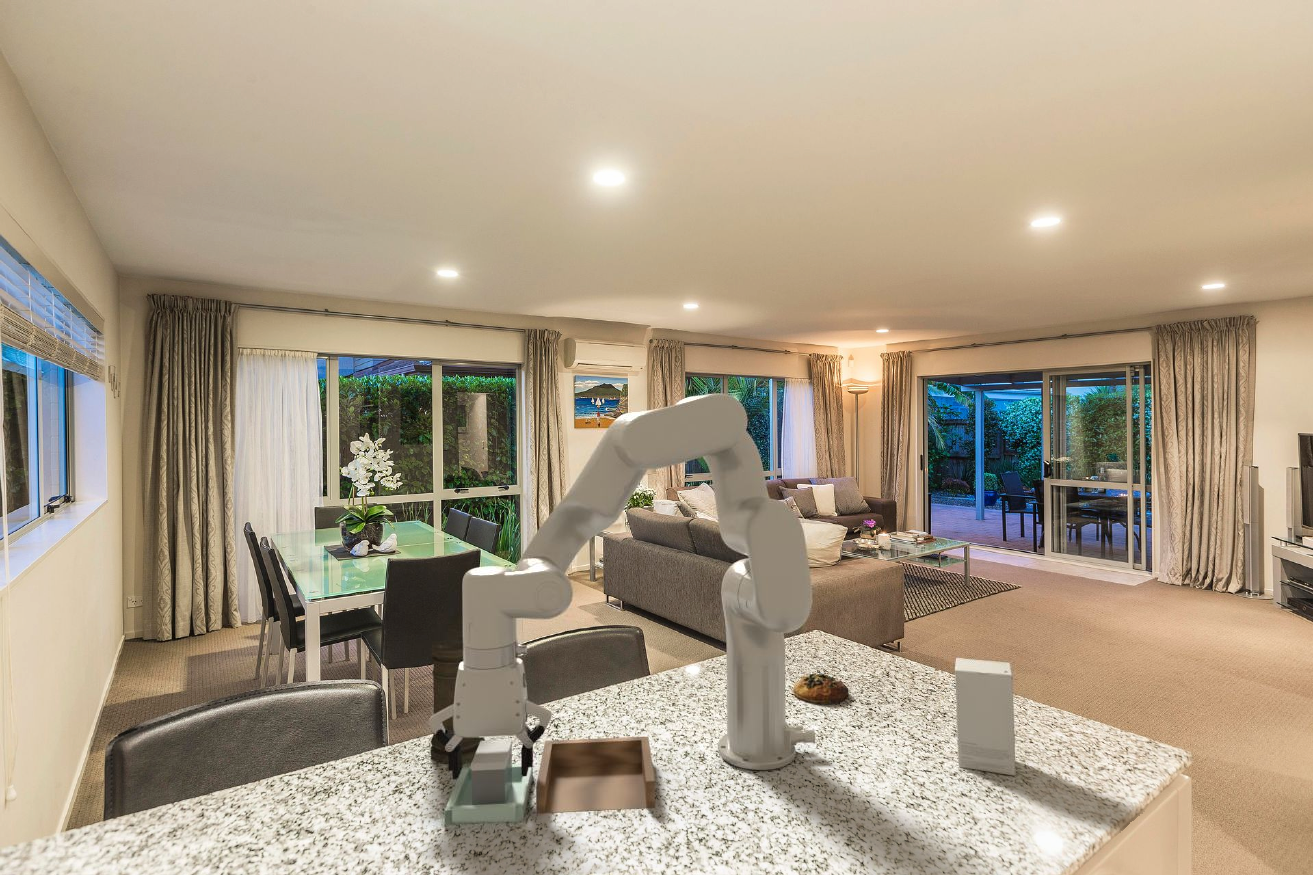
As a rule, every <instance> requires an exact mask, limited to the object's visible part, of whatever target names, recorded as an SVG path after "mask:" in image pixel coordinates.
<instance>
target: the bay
mask: <svg viewBox="0 0 1313 875" xmlns="http://www.w3.org/2000/svg"><path fill="white" fill-rule="evenodd" d="M649 738H650V737H649V736H632V737H631V736H629V737H626V736H625V737H607V738H606V737H604V738H603V737H602V738H580V739H579V738H577V739H558V740H556V739H555V740H545V741H544V743H543V748H542V749H543V750H542V754H541V759H540V764H539V770H538V775H537V780H536V784H535V803H536V804H535V808H536V809H535V810H536V811H535V813H536V814H539V815H540V814H552V813H553V814H557V813H574V812H596V811H615V810H637V809H638V810H639V809H640V810H641V809H655V808H656V798H655V797H656V791H655V790H656V789H655V788H656V780H655V773H654V768H653V761H652V760H653V759H652V753H651V745H650V739H649Z"/></svg>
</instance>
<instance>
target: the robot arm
mask: <svg viewBox="0 0 1313 875" xmlns="http://www.w3.org/2000/svg"><path fill="white" fill-rule="evenodd" d="M747 427H748V415H747V411H746V409H745V407H744V406H743V404H742V403H741V402H740V401H739V399H737V398H735V397H734V396H732V395H730V394H726V393H721V392H720V393H719V392H717V393H708V394H699V395H692V396H688V397H686V398H683V399H681V400H680V401H678V402H677V403H675V404H673V405H668V406H664V407H660V408H655V409H651V410H649V409H648V410H643V411H635V412H627V413H623V414H622V415H620V416H618V417H617V418H616V419H615V420H614V421H613V422H612V423H611V424H610V425H609V427H608V428H607V429H606V431H605V433H604V435H602V438H601V440H600V441H599V442H598V444H597V446H596V447H595V449H594V450H593V453H592V454H590V457H589V458H588V460H587V462H586V463H585V465H584V467H583V469H582V470H581V472H580V473H579V475H578V476H577V478H576V479H575V481H574V483H573V484H572V486H571V488H570V489H569V490H568V491H567V493H566V494H565V496H564V497H563V498H562V499H561V500H560V501H559V502H558V504H557V506H556V507H555V508H554V509H553V511H551V513H550V514H549V516H548V517H547V518H546V519H545V520H544V522H543V523H541V525H540V527H539V529H538V530H537V532H536V533H535V534H534V536H533V537H532V539H531V541H530V542H529V544H528V545H527V547H526V549H525V550H524V551H523V553H522V556H521V557H520V559H519V561H517V563H516V566H515V568H514V570H512V568H509V567H508V566H507V567H506V566H500V565H490V566H488V565H486V566H480V567H474V568H471V569H469V570H468V571H466V572H465V574H464V576H463V578H462V586H461V587H462V588H461V590H462V637H463V662H461V663H460V664H459V668H458V673H457V678H456V686H455V696H454V704H452V705H450V706H448V707H447V708H445V709H443V710H441V711H439V712H437V713H436V714H434V713H433V714H432V715H430V718H429V719H428V721H427V722H428V723H427V724H428V725H429V727H430V728H431V730H432V732H434V733H435V737H436V739H437V740H438V741H440V742H441V743H442V744H443V745H444V746H445V749H446V750H447V751H448V764H447V765H448V771H450V772H452V778H451V779H452V780H458V778H459V776H460V773H461V771H462V769H463V763H462V744H461V742H460V741H461V740H462V738H480V737H484V738H498V737H499V738H501V737H504V738H505V737H514V736H515V737H517V739H518V740H519V741H520V742H521V743H522V746H521V749H520V751H521V752H520V754H521V756H520V758H521V760H520V764H521V775H523V776H527V772H528V768H529V767H532V766H534V744H535V743H536V742H537V741H538V740H540V739H541V737H543V735H544V734H545V732H546V729H547V727H548V725H549V723H550V721H551V719H552V715H553V713H552V712H553V711H551V710H549V709H547V708H545V707H542V706H541V705H539V704H537V703H534V702H533V701H530V700H528V690H527V680H526V671H525V665H524V662H523V660H522V659H521V658H520V657H521V656H526V655H527V654H528V646H527V644H526V645H525V644H521V643H520V642H518V641H519V640H518V638H517V636H518V635H517V634H518V633H517V628H518V626H517V625H518V624H517V619H525V620H538V621H539V620H541V621H542V620H543V621H544V620H551V619H552V620H553V619H555V618H557V617H559V616H561V615H562V614H564V613H565V612H566V611H567V610H568V608H569V607H570V606H571V603H572V601H573V597H574V595H573V594H574V593H573V592H574V590H573V586H572V582H571V579H570V578H569V577H568V576H567V575H566V572H567V570H568V568H570V566H571V564H572V562H573V561H574V560H575V558H576V556H577V555H578V553H579V552H580V550H582V548H583V547H584V546H585V545H586V544H587V543H588V542H589V541H590V540H591V539H592V538H593V537H594V536H596V535H598V534H600V533H601V532H604V531H605V530H607V529H608V528H610V527H611V526H612V525H613V524H615V523H616V522H617V521H618V520H619V518H620V516H621V514H622V513H623V511H624V510H625V508H626V506H627V505H628V503H629V501H630V499H631V498H632V496H633V494H634V493H635V491H636V490H637V488H638V486H640V483H641V481H642V479H643V478H644V476H645V474H646V473H647V471H648V470H657V469H659V470H660V469H662V468H667V467H672V466H675V465H680V464H683V463H686V462H690V461H692V460H696V459H697V460H698V459H699V458H703V460H704V461H705V463H706V464H707V467H708V470H709V473H710V476H711V481H712V487H713V493H714V499H715V501H714V502H715V506H716V513H717V522H718V528H719V530H718V531H719V533H720V537H721V539H722V541H723V543H724V544H725V545H726V546H727V547H728V548H729V549H731V550H733V551H734V552H737V553H739V554H742V555H745V556H747V557H748V558H744V559H739V560H738V561H736V562H734V563H732V564H731V565H730V566H728V569H727V570H726V572H725V573H724V576H723V578H722V581H721V590H720V595H721V596H720V597H721V603H722V610H723V618H724V623H725V624H724V625H725V637H726V638H725V640H726V732H727V733H726V734H725V735H723V736H722V737H721V738H720V739H719V740H718V743H717V752H718V755H719V756H720V757H721V758H722V759H723V760H724V761H725V762H726V763H728V764H730V765H732V766H735V767H739V768H742V769H745V770H753V771H754V770H755V771H769V770H775V769H776V770H777V769H780V768H783V767H786V766H788V765H789V764H791V763H792V762H793V761H794V759H795V757H796V746H797V744H798V743H804V744H811V743H816V733H815V730H814V729H805V730H804V726H803V725H793V726H792V725H790V726H789V724H788V723H787V721H786V714H787V713H786V710H787V709H786V643H785V635H784V634H788V633H789V634H790V633H792V632H795V631H797V630H799V629H800V628H802V626H803V625H805V623H806V622H807V621H808V618H809V616H810V614H811V611H812V605H813V587H812V578H811V572H810V564H809V557H808V550H807V541H806V536H805V531H804V527H803V525H802V522H801V519H800V518H799V517H798V514H797V513H796V512H795V511H794V509H793V508H792V507H791V506H789V505H788V504H786V503H785V502H783V501H781V500H778V499H774V498H770V495H769V492H768V488H767V481H766V476H765V473H764V472H765V471H764V467H763V463H762V457H761V455H760V452H759V450H758V447H757V445H756V443H755V440H753V438H752V437H751V435H750V434H749V433H748V431H747ZM529 715H531V716H532V717H535V718H537V719H539V721H538V723H537V725H536V726H535V727H534V728H532V729H531V727H530V726H529V725H527V723H526V722H528V718H529V717H528V716H529ZM452 716H453V730H454V733H453V734H451V733H450V732H449V731H448V730H447V729H446V728H445V727H444V726H443V724H442V722H443V721H444V720H446V719H448V718H450V717H452Z"/></svg>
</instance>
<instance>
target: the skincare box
mask: <svg viewBox="0 0 1313 875" xmlns="http://www.w3.org/2000/svg"><path fill="white" fill-rule="evenodd" d="M954 664H955V665H954V666H955V667H954V678H955V703H956V704H955V706H956V707H955V708H956V710H955V711H956V733H957V734H956V737H957V739H956V740H957V760H958V762H957V763H958V768H963V769H969V770H975V771H981V772H989V773H995V774H1003V775H1007V776H1016V774H1017V773H1016V742H1015V741H1016V739H1015V738H1016V737H1015V736H1016V735H1015V715H1014V714H1015V712H1014V711H1015V710H1014V682H1013V679H1014V675H1013V670H1012V666H1011V663H1010V662H1007V661H1006V662H1002V661H995V660H994V661H992V660H984V659H983V660H981V659H973V658H972V659H970V658H961V657H956V658H955V663H954Z"/></svg>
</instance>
